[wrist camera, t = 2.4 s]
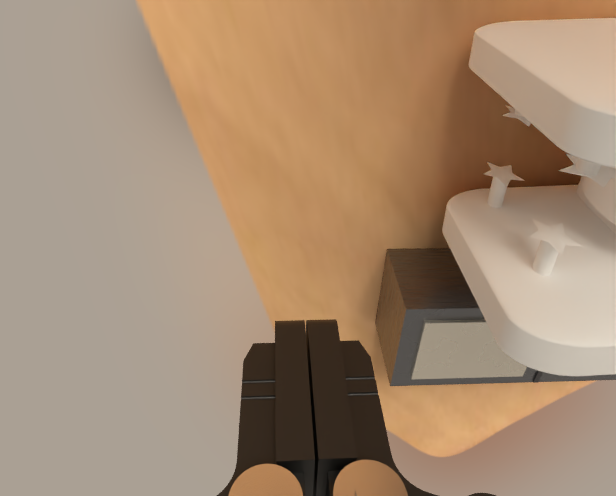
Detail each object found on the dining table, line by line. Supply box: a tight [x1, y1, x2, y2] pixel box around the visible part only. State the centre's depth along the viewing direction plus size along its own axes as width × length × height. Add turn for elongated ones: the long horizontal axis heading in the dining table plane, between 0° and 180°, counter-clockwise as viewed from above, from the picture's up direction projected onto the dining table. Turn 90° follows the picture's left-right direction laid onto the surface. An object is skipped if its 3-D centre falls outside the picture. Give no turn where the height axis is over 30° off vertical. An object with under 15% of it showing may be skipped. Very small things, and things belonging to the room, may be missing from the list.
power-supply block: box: [375, 249, 616, 386], centre depth 28 cm, size 6×17×5 cm, turn 88°
